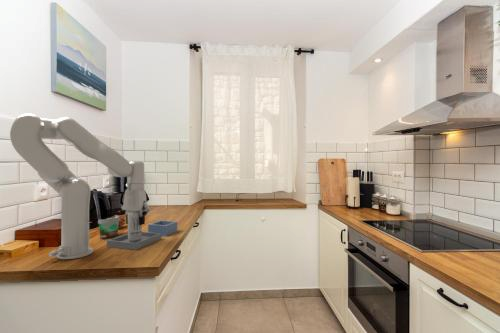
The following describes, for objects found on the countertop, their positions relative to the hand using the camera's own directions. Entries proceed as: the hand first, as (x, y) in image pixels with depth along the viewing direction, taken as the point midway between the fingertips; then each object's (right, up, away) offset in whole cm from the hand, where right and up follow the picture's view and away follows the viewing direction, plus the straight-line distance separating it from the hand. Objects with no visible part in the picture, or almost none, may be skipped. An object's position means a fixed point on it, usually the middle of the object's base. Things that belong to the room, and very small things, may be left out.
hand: (135, 223), depth 122 cm
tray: (0, -9, 0) cm, 9 cm away
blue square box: (+7, -9, +18) cm, 21 cm away
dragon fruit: (-23, -9, +27) cm, 37 cm away
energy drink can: (0, -9, 0) cm, 9 cm away
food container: (-17, -9, +10) cm, 22 cm away
